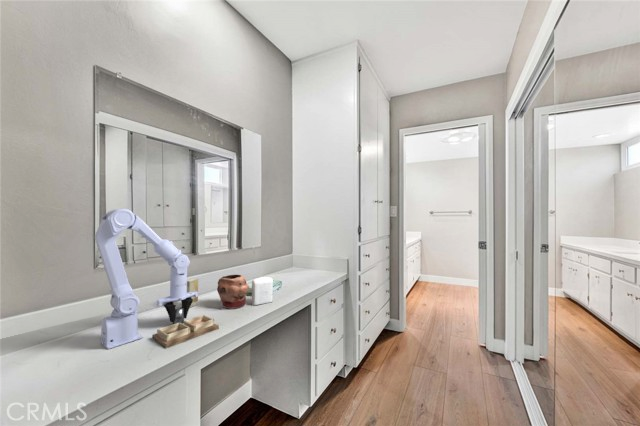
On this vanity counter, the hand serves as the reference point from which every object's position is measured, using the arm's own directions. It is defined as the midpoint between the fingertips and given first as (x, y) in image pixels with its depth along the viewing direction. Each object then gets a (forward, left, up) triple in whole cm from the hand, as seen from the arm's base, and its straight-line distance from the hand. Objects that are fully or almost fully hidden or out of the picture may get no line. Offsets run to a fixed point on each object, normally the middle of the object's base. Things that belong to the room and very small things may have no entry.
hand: (178, 319), depth 100 cm
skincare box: (+13, +17, -2) cm, 21 cm away
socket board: (-2, -11, -2) cm, 11 cm away
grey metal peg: (0, 0, -2) cm, 2 cm away
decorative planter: (+25, +2, -2) cm, 25 cm away
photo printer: (+36, -7, -2) cm, 37 cm away
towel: (+49, +10, -2) cm, 50 cm away
